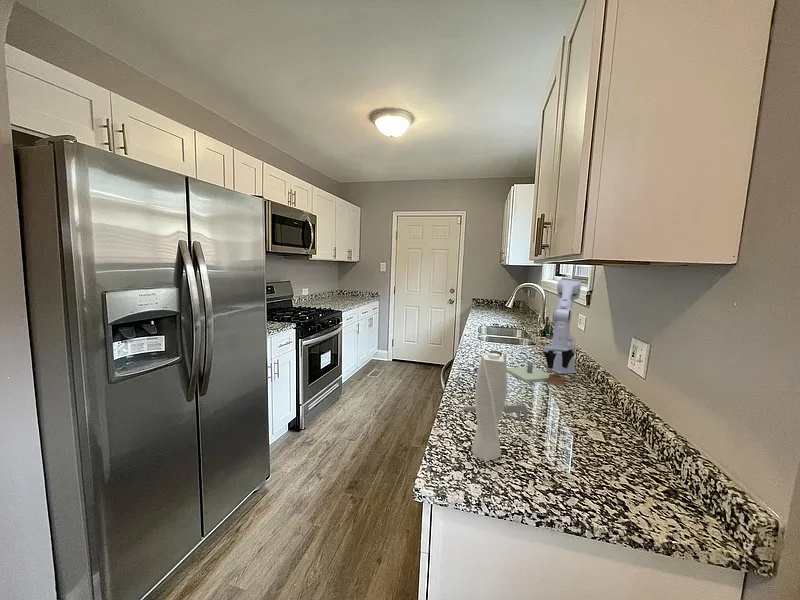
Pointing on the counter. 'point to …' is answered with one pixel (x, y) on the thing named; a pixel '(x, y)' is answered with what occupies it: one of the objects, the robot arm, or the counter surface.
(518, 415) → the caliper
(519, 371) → the post board
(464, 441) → the counter surface
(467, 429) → the counter surface
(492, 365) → the skyscraper
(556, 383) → the collar
